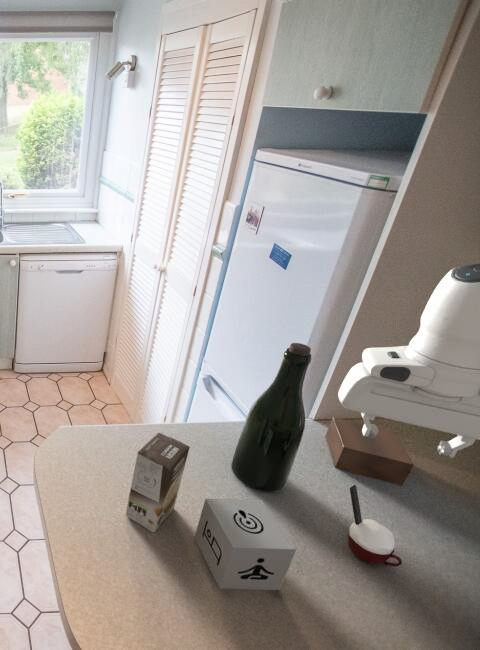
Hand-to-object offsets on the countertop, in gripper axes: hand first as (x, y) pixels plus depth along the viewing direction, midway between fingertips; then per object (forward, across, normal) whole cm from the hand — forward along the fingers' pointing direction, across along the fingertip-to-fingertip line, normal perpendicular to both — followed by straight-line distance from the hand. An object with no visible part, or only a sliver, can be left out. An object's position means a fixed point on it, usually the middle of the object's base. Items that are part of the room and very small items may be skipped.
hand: (405, 444), depth 73 cm
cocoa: (+26, -2, -1) cm, 26 cm away
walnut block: (+25, -7, -31) cm, 41 cm away
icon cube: (+26, +19, +12) cm, 34 cm away
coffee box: (+25, +34, +8) cm, 43 cm away
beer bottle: (+26, +15, -14) cm, 32 cm away
